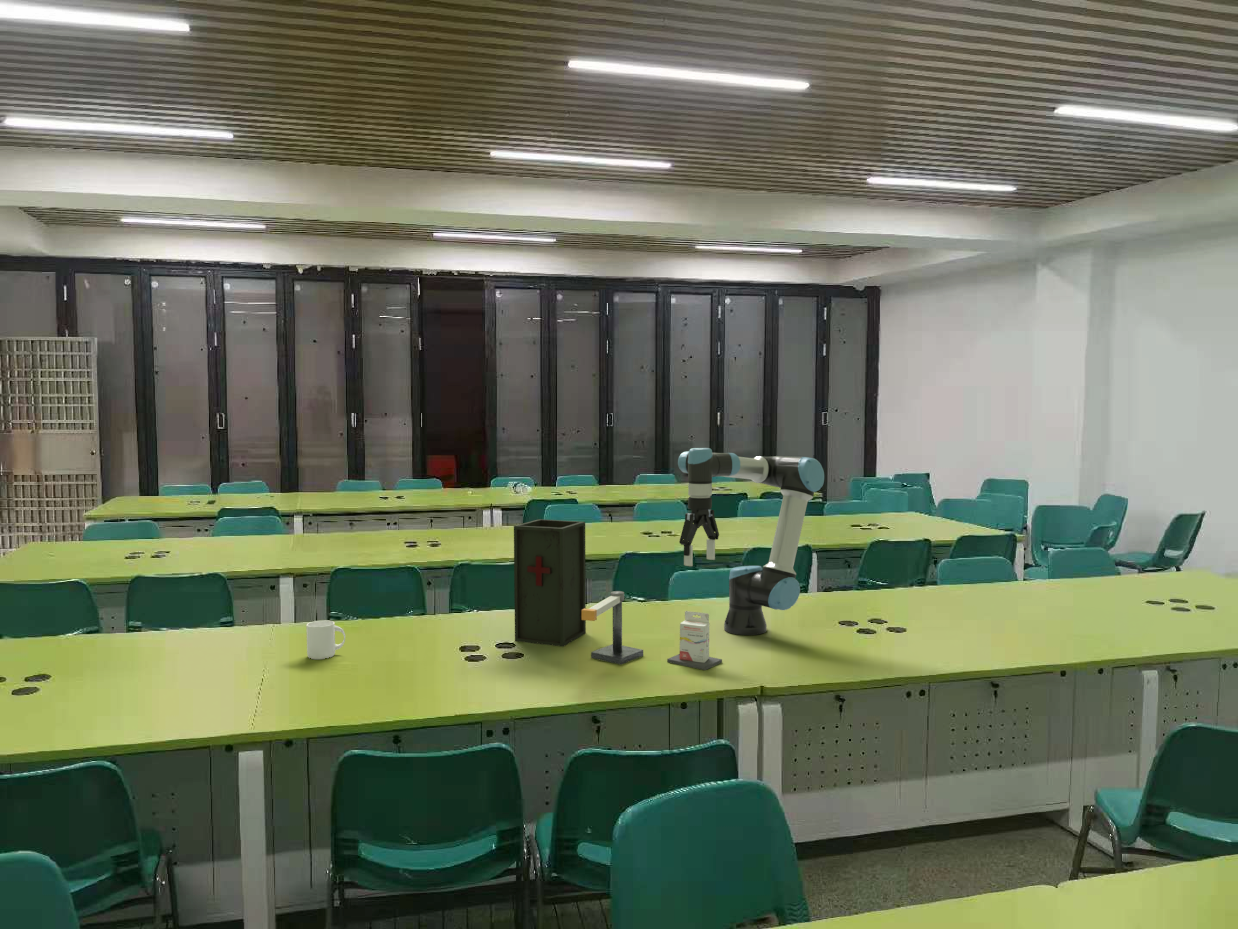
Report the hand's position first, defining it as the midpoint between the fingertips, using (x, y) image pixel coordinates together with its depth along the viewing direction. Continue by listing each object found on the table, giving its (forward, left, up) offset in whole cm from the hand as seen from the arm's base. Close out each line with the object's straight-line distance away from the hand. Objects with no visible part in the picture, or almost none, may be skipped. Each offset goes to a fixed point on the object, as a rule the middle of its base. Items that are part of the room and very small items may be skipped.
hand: (699, 562), depth 275 cm
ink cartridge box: (+6, +2, -30) cm, 31 cm away
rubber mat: (+6, +2, -31) cm, 31 cm away
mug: (+71, -98, -31) cm, 125 cm away
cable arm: (+27, -18, -13) cm, 35 cm away
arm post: (+16, -21, -31) cm, 40 cm away
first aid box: (+11, -54, -31) cm, 63 cm away
